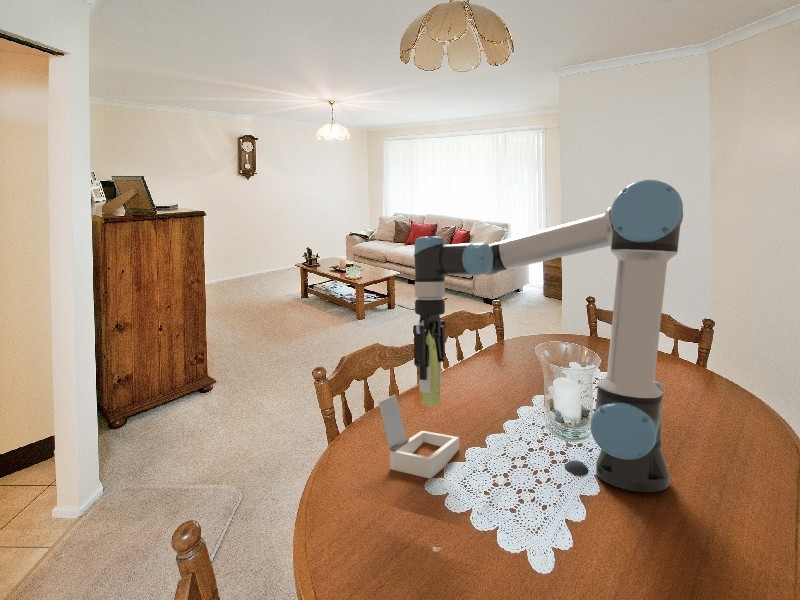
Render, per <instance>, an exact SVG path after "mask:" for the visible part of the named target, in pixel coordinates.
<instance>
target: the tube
mask: <svg viewBox="0 0 800 600" xmlns="http://www.w3.org/2000/svg"><path fill="white" fill-rule="evenodd" d="M426 344H427V345H429V365H428V366H430V386H431V392H430V393H425V392H420V403H421V405H424V406H427V407H428V406H429V407H434V406H435V407H436V406H439V405H440V403H441V387H440V382H439V368H438V358H437V351H436V344H435V339H434V337H433V339H432V337H431V334H430V330H429V333H428V335H427V338H426Z"/></svg>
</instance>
